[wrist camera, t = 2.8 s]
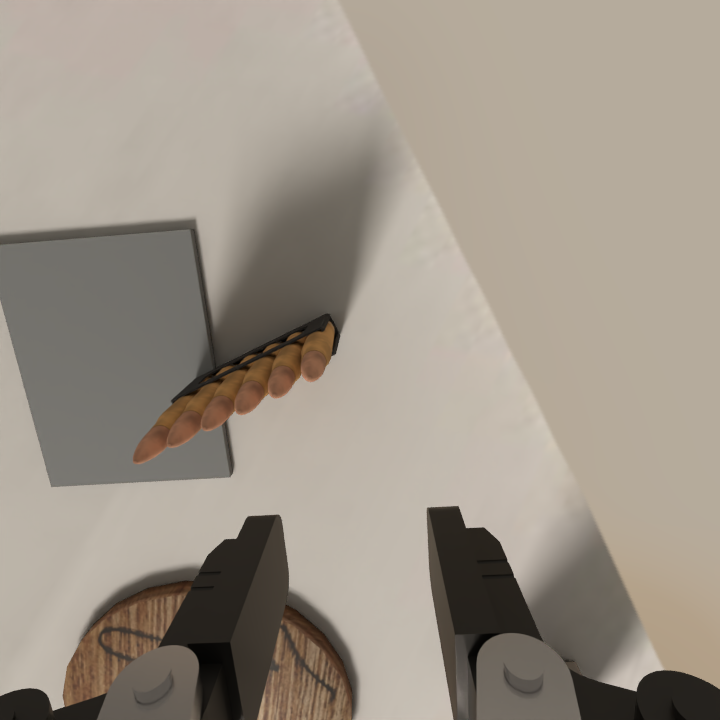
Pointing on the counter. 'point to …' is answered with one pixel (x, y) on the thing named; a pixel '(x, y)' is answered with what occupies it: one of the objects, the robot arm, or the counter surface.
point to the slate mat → (110, 352)
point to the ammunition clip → (242, 385)
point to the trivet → (150, 623)
